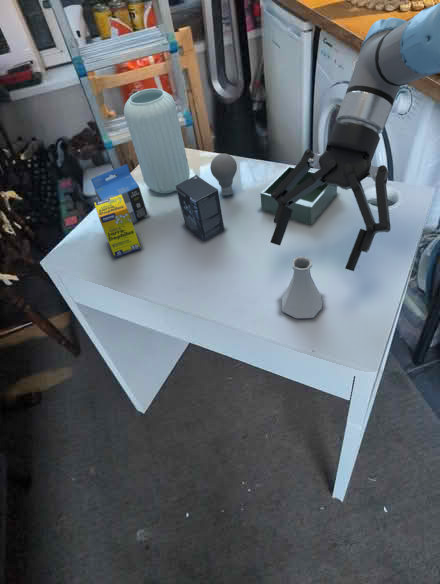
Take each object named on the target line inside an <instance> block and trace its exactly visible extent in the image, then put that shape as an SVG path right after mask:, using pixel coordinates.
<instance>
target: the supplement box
mask: <svg viewBox="0 0 440 584" xmlns="http://www.w3.org/2000/svg"><path fill="white" fill-rule="evenodd" d="M93 205H94V207H95V210H96V213H97V216H98V218H99V222H100V225H101V226H102V230H103V232H104V234H105V237H106V239H107V242H108V245H109V247H110V250H111V252H112V255H113V256H114V258H115V259H117V258H120V257H122V256H125V255H128V254H131V253H133V252H138V251H140V250H142V248H141V245H140V241H139V239H138V238H139V237H138V235H137V232H136V229H135V226H134V223H132V221H131V218H130V215H129V212H128V209H127V207H126V204H125V202H124V199H123V197H122V195H121V194H120V195H118V196H115V197H112V198H109V199H106V200H102V201H99V200H98V201H96V202H94V204H93Z"/></svg>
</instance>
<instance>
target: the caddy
mask: <svg viewBox="0 0 440 584" xmlns="http://www.w3.org/2000/svg"><path fill="white" fill-rule="evenodd" d="M295 167H296V166H292V165H287V166H286V167H285V168H284V169H283V171H281V172H280V173H279V174H278V175H277V176H276V177H275V178H274V179H273V180H272V181H271V182H270V183H269V184H268V185H267V186H266V187H265V188H264V189H263V190H262V191H261V192H260V193H259V194H260V206H261V207H260V208H261V211H263V212H266V213H269V214H273V215H275V214H276V211H277V208H278V202H277V201H276V200H275V199H273V198H272V197H271V193H272V192H273V191H274V190H275V189H276V188H277V186H278V185H279V184H280V183H281V182H282V181H283V180H284V179H285V178H286V177H287V175H288V174H289V173H290V172H291V171H292V170H293V169H294V168H295ZM315 172H316V171H313V170H311V169H310V170H309V171H308V172H307V173H306V174H305V175H304V176H303V178H302V179H301V180H300V181H299V182H298V183H297V184H296V185H295V186H294V187H293V188H292V190H293V189H294V188H296V187H297V186H299V185H300V184H302V183H303V182H304V181H306V180H307V179H309V178H310V177H311V176H312V174H314V173H315ZM292 190H291V191H292ZM337 194H338V187H333V186H330V185H328V184H327V183H325V184H323V185H322V186H319V187H317V188H316V189H314V190H313V191H311V192H310V193H308V194H307V195H306V196H304V197H303V198H301V199H300V200H298V201H297V202H295V203H294V204H292V205H291V206H290V209H292V210H293V211H292V214H291V217H290V219H289V220H293V221H296V222H300V223H303V224H306V225H309V226H312V224H314V222H315V221H316V220H317V219H318V218H319V216H320V215H321V214H322V213H323V212H324V211H325V210H326V208H327V207H328V206H329V204H331V202H332V201H333V200H334V199H335V197H336V196H337Z"/></svg>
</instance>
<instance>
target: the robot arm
mask: <svg viewBox="0 0 440 584" xmlns="http://www.w3.org/2000/svg"><path fill="white" fill-rule="evenodd" d="M437 74H440V2H438V3H437V4H434V5H432V6H428V7H426V8H424V9H422V10H421V11H419V12H418V13H417V14H415V15H414V16H413V17H412V18H410V19H409V20H405V19H403V18H398V17H387V18H386V19H385V18H380V19H377V21H375V22H374V23H372V25H371V26H370V27H369V30H368V32H367V34H366V35H365V39H364V40H363V41H362V43H361V47H360V49H359V53H358V57H357V60H356V63H355V66H354V69H353V72H352V74H351V77H350V80H349V81H348V82H349V83H348V86H347V88H346V91H345V94H344V97H343V99H342V101H341V105H340V107H339V109H338V113H337V115H336V118H335V120H336V122H337V123H335V124H334V125H333V126H332V130H331V132H330V135H329V138H328V140H327V143H326V146H325V150H324V151H323V153H322V154H319V153H316V152H313V151H312V149H310V148H307V149H305V151H304V152H303V155H302V156H301V159H300V160H299V162H298V163H297V164H296V165H295V166H294V167H295V168H294V169H293V170H292V171H291V172H290V173H289V174H288V175H287V177H286V178H285V179H284V180H283V181H282V182H281V183H280V184H279V185H278V186H277V188H276V189H275V190H274V191H273V192H272V193H271V197H272V198H273V199H275V200H276V201H277V202H278V208H277V211H276V214H274V217H273V224H275V227H274V231H273V233H272V235H271V239H270V242H269V243H271V244H273V245H277V246H281V244H282V242H283V239H284V236H285V234H286V230H287V228H288V224H289V222H290V220H291V219H290V217H291V214H292V211H293V210H292V209H290V206H291V205H292V204H294V203H295V202H297V201H298V200H300V199H301V198H303V197H304V196H306V195H307V194H308V193H310V192H311V191H313V190H314V189H316V188H317V187H319V186H322V185H323V184H325V183H327V184H328V185H330V186H333V187H337V188H338V187H339V188H340V189H342V190H345V191H348V190H350V189H351V191H352V193H353V196H354V198H355V202H356V204H357V206H358V209H359V212H360V214H361V217H362V219H363V222H364V225H365V229H363V228H360V229H359V231H358V234H357V236H356V239H355V241H354V244H353V246H352V249H351V252H350V255H349V257H348V260H347V263H346V265H345V268H344V269H345V270H348V271H352V272H355V270H356V267H357V264H358V262H359V259H360V256H361V255H362V252H363V253H368V252H369V251H370V249H371V246H372V243H373V241H374V238H375V236H376V235H377V234H379V233H389V232H390V231H391V228H392V227H391V218H390V217H391V216H390V207H389V199H388V190H387V188H388V187H387V183H388V179H389V175H390V171H389V169H388V168H387V166H386V165H384V164H383V165H379V166H373V165H372V161H373V159H374V156H375V154H376V151H377V149H378V146H379V143H380V140H381V137H380V134H382V133H383V132H384V130H385V127H386V124H387V122H388V119H389V117H390V114H391V111H392V108H393V106H394V103H395V100H396V98H397V96H398V93H399V90H400V88H401V87H402V86H405V85H408V84H410V83H412V82H415V81H418V80H421V79H424V78H428V77H430V76H433V75H437ZM316 164H319V169H318V170H317V171H314V172H315V173H314V174H312V176H311V177H310V178H309V179H307V180H306V181H304V182H303V183H302V184H300V185H299V186H297V187H296V188H294V189H293V190H292V188H293V187H294V186H295V185H296V184H297V183H298V182H299V181H300V180H301V179H302V178H303V176H304V175H305V174H306V173H307V172H308V171H309V170H310V171H311V168H312V167H315V166H316ZM369 175H371V179H372V180H373V181H374V186H375V196H376V205H377V214H378V215H377V216H378V222H376V220H375V218H374V214H373V212H372V210H371V207H370V204H369V202H368V199H367V197H366V196H367V195H366V193H365V190H364V188H363V185H362V183H361V182H362V181H363V180H365V179H367V178H368V177H369ZM291 190H292V191H291Z"/></svg>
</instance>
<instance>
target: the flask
mask: <svg viewBox="0 0 440 584" xmlns="http://www.w3.org/2000/svg"><path fill="white" fill-rule="evenodd" d="M291 261H292V263H291V265H292V266H291V267H292V270H293V272H292V273H293V274H292V278H291V280H290V282H289V285H288V287H287V289H286V291H285V292H284V294H283V295H282V298H281V310H282V313H284V314H286V315H288V316H290V317H292V318H294V319H296V320H297V319H314V318H315V317H316V316H317V314H319V312H320V311H321V310H322V309H323V302H322V295H321V292H320V290H319V289H318V287H317V286H316V283H315V281H314V279H313V277H312V274H311V268H313V267H312V266H313V262H312V259H311V258H309V257H306V256H296V257H295V258H294V259H293V260H291Z"/></svg>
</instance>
